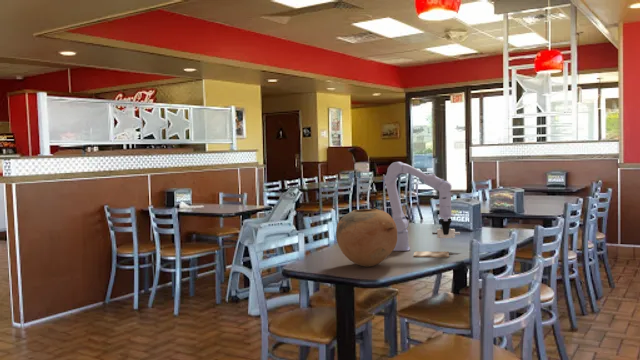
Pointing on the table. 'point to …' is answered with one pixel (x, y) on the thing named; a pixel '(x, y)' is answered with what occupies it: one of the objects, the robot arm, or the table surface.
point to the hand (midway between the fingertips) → (445, 233)
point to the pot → (366, 236)
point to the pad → (430, 254)
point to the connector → (450, 235)
